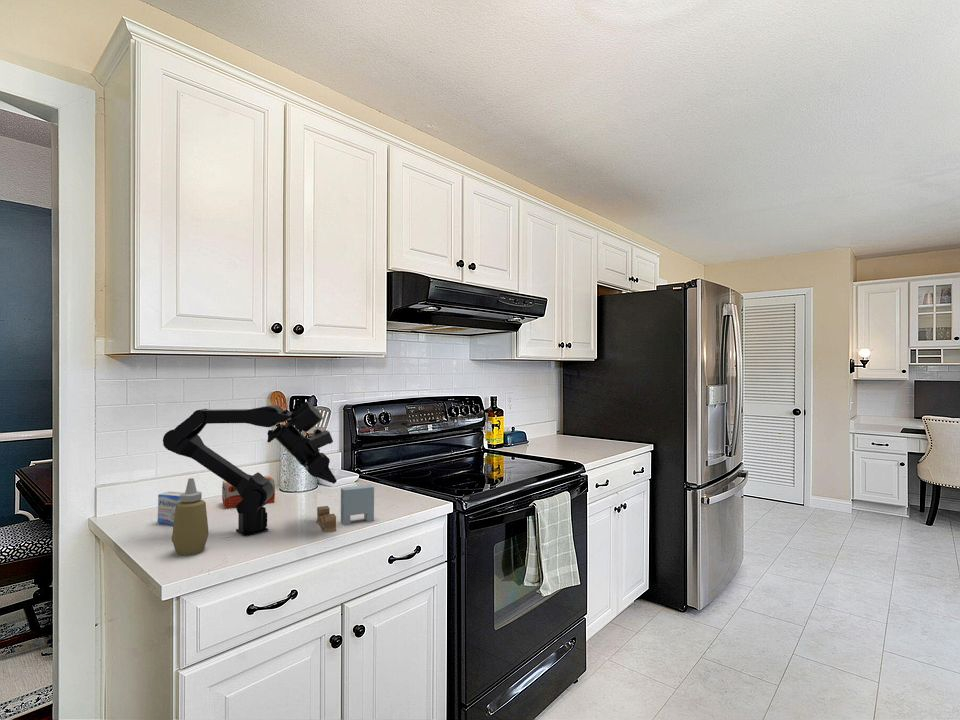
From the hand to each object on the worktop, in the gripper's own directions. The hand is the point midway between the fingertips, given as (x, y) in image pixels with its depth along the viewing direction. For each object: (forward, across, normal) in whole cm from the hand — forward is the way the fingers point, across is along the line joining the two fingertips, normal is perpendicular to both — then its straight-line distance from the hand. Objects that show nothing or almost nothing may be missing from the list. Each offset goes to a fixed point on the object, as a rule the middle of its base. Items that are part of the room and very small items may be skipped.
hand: (331, 478), depth 150 cm
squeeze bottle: (-14, -6, +35) cm, 39 cm away
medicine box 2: (-2, +36, +24) cm, 43 cm away
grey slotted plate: (+15, -1, +3) cm, 15 cm away
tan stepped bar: (+9, -1, +10) cm, 13 cm away
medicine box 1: (-16, +22, +39) cm, 48 cm away
